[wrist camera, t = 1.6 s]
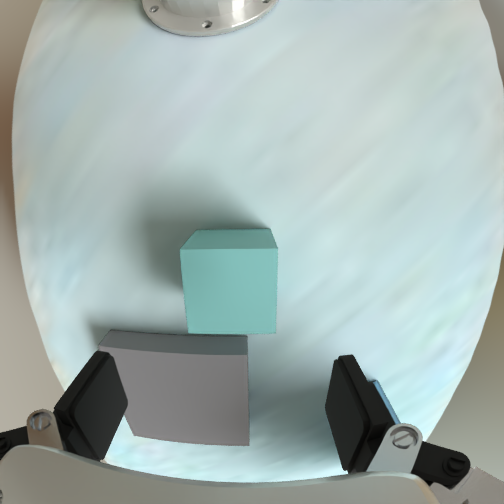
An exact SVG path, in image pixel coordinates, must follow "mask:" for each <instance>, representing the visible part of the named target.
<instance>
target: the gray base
mask: <svg viewBox="0 0 504 504" xmlns="http://www.w3.org/2000/svg"><path fill="white" fill-rule="evenodd" d="M98 347H99V350H100V351H104V352H109V353H110V355H111V356H113V357H114V360H115V363H116V366H117V370H118V373H119V376H120V379H121V382H122V385H123V388H124V391H125V393H126V396H127V399H128V406H127V409H126V411H125V413H124V415H125V418H126V420H127V422H128V424H129V426H130V428H131V431H132V433H133V435H134V436H139V437H145V438H151V439H158V440H165V441H173V442H182V443H192V444H206V445H228V446H249V397H248V349H247V336H195V335H170V334H153V333H139V332H127V331H116V330H110V331H109V332H108V333H107V335H106V336H105V337H104V339H103V340H102V341H101V343H100V344H99V345H98Z"/></svg>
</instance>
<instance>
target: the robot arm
mask: <svg viewBox="0 0 504 504" xmlns="http://www.w3.org/2000/svg"><path fill="white" fill-rule="evenodd" d="M277 2H278V0H142V5H143V9H144V10H145V12H146V14H147V15H148V17H149V18H150V19H151V20H152V22H153V23H154V24H156V25H157V26H159V27H160V28H162V29H164V30H166V31H169V32H171V33H175V34H180V35H185V36H213V35H219V34H225V33H229V32H232V31H235V30H239V29H242V28H244V27H246V26H249V25H251V24H253V23H255V22H256V21H258V20H259V19H261V18H263V17H264V16H265V15H266V14H267V13H269V12H270V11H271V10H272V9H273V7H274V6H275V5H276V3H277ZM207 27H210V28H207ZM127 406H128V399H127V396H126V393H125V391H124V388H123V385H122V382H121V379H120V376H119V373H118V370H117V366H116V363H115V360H114V357H113V356H111V355H110V353H109V352H104V351H96V352H95V353H94V354H93V356H92V357H91V358H90V359H89V361H88V362H87V363H86V365H85V366H84V367H83V369H82V370H81V371H80V373H79V374H78V375H77V377H76V378H75V379H74V381H73V382H72V383H71V385H70V386H69V387H68V389H67V390H66V391H65V393H64V394H63V396H62V397H61V398H60V400H59V401H58V402H57V404H56V405H55V407H54V409H55V410H54V412H53V413H52V412H51V411H49V410H46V409H41V410H37V411H34V412H33V413H31V414H30V415H29V417H28V419H27V426H24V427H21V428H17V429H13V430H10V431H6V432H2V433H0V504H504V482H503V481H501V480H499V479H497V478H495V477H493V476H492V475H490V474H488V473H486V472H485V471H483V470H481V469H479V468H478V467H475V468H474V469H473V468H471V467H470V461H469V459H468V457H467V456H466V455H464V454H463V453H461V452H457V451H454V450H450V449H447V448H443V447H440V446H436V445H433V444H430V443H427V442H424V441H422V438H423V437H422V433H421V432H420V430H419V429H418V428H417V427H415V426H413V425H411V424H406V423H401V424H397V425H396V424H395V422H394V420H393V418H392V416H391V414H390V412H389V410H388V409H387V407H386V405H385V403H384V401H383V399H382V397H381V396H380V394H379V392H378V390H377V388H376V386H375V385H374V383H373V382H368V381H367V379H366V377H365V376H364V374H363V372H362V370H361V368H360V366H359V364H358V363H357V361H356V359H355V357H354V356H353V355H343V356H339V357H338V359H337V360H334V364H333V369H332V375H331V380H330V385H329V390H328V395H327V399H326V404H325V410H326V414H327V417H328V421H329V424H330V427H331V431H332V434H333V437H334V441H335V444H336V447H337V451H338V454H339V458H340V461H341V465H342V468H343V470H344V471H346V470H347V471H348V474H345V475H337V476H331V477H323V478H315V479H306V480H295V481H282V482H259V483H237V482H213V481H200V480H190V479H181V478H173V477H167V476H160V475H155V474H149V473H144V472H139V471H134V470H130V469H125V468H121V467H117V466H113V465H110V464H105V463H102V462H100V460H103V459H104V458H105V455H106V453H107V451H108V449H109V446H110V444H111V442H112V439H113V437H114V435H115V433H116V431H117V428H118V426H119V424H120V422H121V420H122V417H123V415H124V413H125V411H126V409H127Z"/></svg>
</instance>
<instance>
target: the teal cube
mask: <svg viewBox="0 0 504 504" xmlns="http://www.w3.org/2000/svg"><path fill="white" fill-rule="evenodd" d="M180 261H181V272H182V282H183V292H184V301H185V310H186V318H187V326H188V333H196V334H273V333H276V306H277V269H278V247H277V245H276V242H275V239H274V237H273V234H272V232H271V229H219V230H196V231H195V232H194V233H193V234H192V236H191V237H190V238H189V239H188V240H187V241H186V243H185V244H184V245H183V246H182V247H181V249H180Z"/></svg>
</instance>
